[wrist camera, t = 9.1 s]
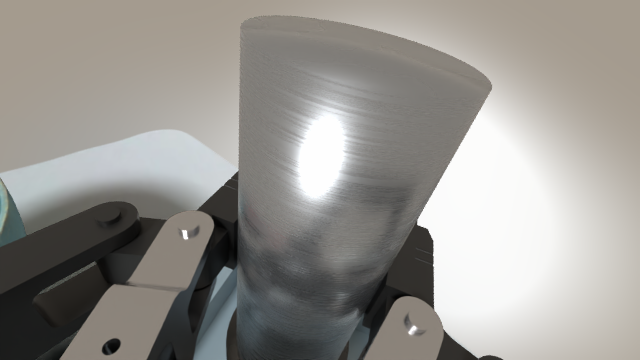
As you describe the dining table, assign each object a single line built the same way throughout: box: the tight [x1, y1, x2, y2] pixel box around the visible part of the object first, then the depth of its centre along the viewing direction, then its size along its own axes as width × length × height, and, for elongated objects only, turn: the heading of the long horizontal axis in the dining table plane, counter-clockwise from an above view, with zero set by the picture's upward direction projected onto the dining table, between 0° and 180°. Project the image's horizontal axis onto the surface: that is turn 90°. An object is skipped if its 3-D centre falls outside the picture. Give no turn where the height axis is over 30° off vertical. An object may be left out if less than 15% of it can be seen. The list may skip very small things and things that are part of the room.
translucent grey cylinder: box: [226, 16, 492, 360], centre depth 9 cm, size 5×5×14 cm
